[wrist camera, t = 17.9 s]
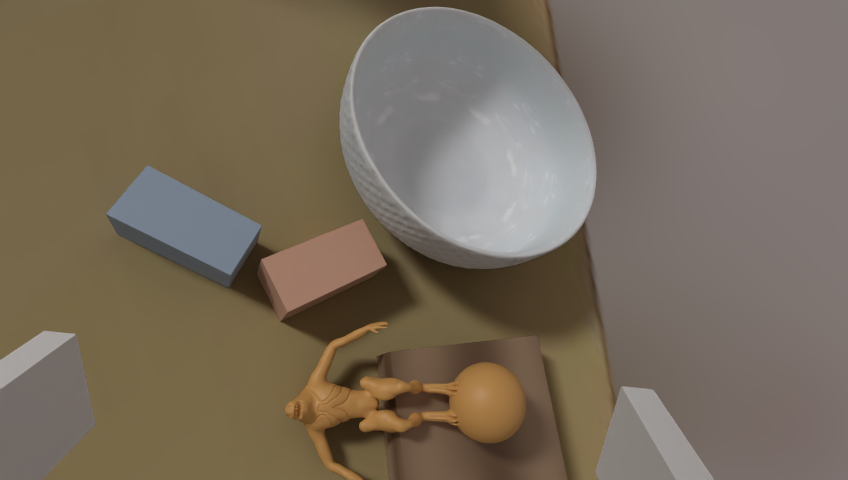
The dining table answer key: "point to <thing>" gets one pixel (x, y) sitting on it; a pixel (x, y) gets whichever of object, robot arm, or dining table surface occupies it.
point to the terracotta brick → (319, 268)
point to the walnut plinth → (445, 443)
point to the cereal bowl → (465, 140)
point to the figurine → (468, 395)
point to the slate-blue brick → (184, 226)
